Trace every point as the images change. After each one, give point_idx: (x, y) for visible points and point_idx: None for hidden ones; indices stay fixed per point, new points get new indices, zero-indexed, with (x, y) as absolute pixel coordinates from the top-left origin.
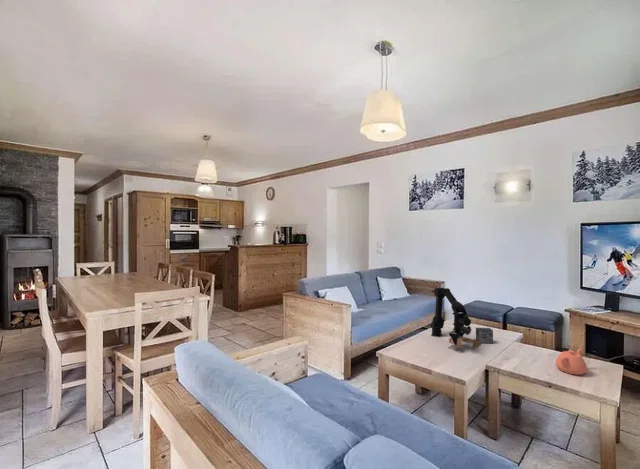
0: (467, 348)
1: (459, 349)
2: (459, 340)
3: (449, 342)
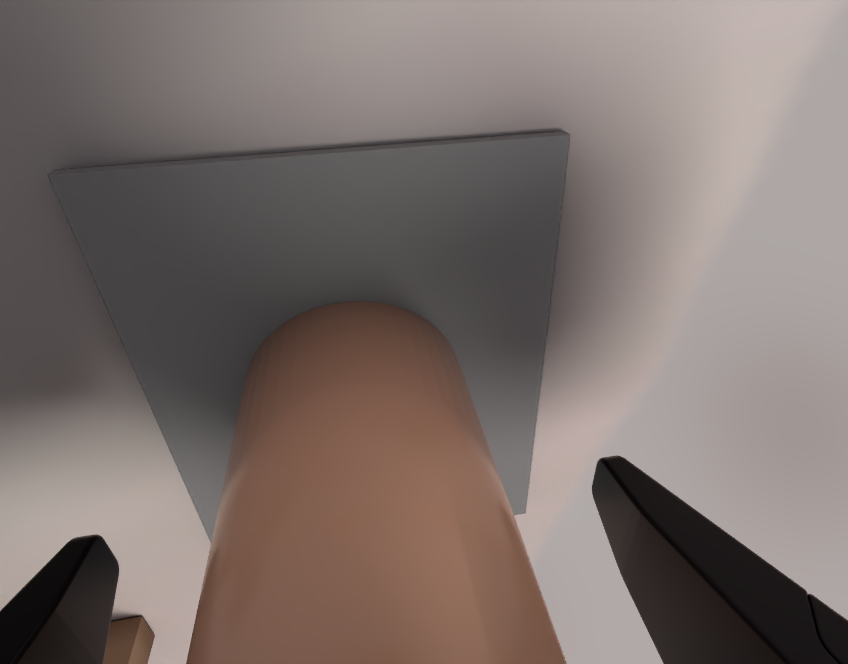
0: (113, 177)
1: (461, 313)
2: (526, 608)
3: (152, 634)
